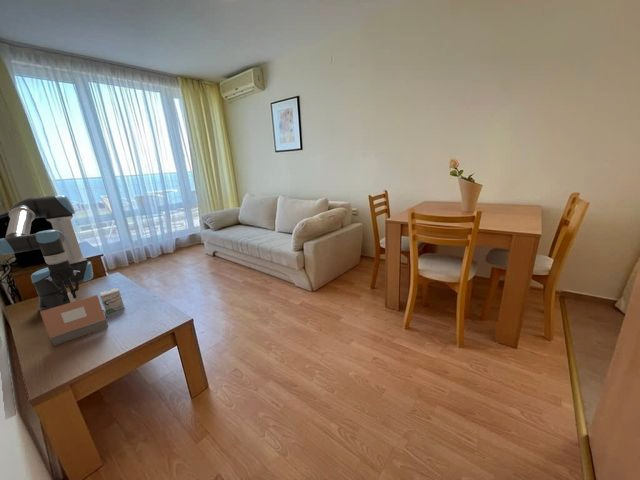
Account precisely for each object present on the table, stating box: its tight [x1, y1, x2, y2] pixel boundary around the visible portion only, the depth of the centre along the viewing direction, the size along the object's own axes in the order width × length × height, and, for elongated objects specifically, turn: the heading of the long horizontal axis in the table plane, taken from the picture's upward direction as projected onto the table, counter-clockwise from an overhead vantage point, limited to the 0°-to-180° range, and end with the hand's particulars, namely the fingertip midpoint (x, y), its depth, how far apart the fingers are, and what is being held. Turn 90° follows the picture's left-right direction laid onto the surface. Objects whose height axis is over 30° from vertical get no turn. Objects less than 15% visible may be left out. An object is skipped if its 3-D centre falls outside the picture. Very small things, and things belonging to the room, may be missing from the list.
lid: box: [39, 294, 105, 339], centre depth 122 cm, size 13×20×1 cm
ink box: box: [99, 287, 125, 314], centre depth 146 cm, size 8×5×12 cm, turn 135°
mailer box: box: [50, 309, 109, 347], centre depth 129 cm, size 13×20×4 cm, turn 133°
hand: (74, 304), depth 130 cm, fingers closed
